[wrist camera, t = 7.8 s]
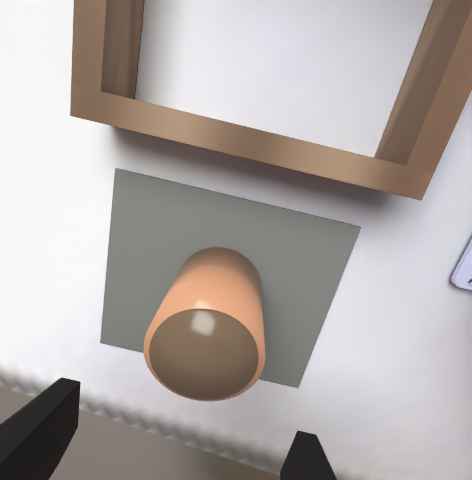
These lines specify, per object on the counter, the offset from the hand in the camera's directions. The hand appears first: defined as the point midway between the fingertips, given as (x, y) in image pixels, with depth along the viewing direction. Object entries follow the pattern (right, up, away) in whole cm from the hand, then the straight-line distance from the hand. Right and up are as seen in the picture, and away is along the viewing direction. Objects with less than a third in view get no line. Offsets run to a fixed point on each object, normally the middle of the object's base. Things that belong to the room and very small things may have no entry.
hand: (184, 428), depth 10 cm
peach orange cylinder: (+1, +3, +8) cm, 9 cm away
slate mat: (+1, +3, +9) cm, 9 cm away
